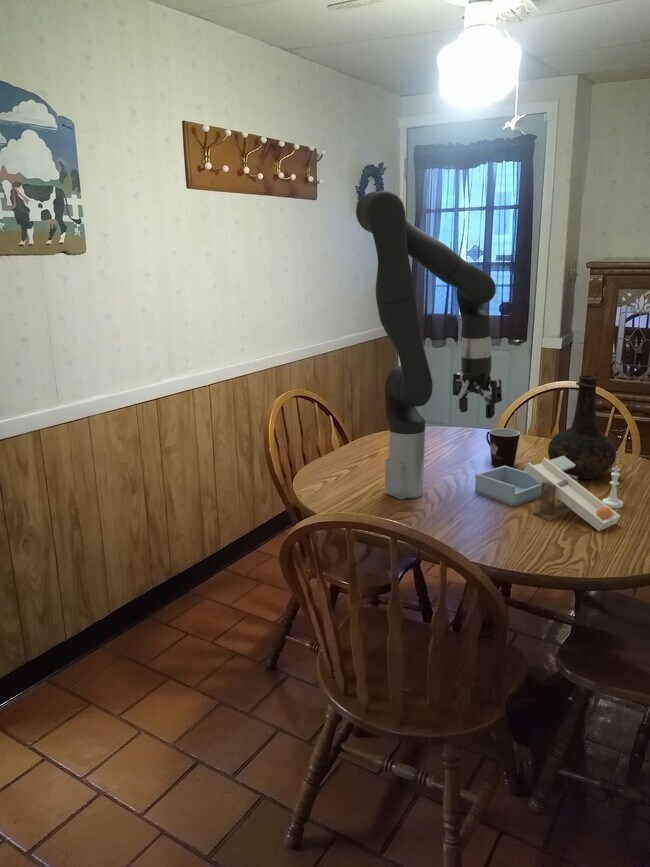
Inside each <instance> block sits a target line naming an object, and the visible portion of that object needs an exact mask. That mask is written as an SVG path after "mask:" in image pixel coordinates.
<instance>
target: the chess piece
mask: <svg viewBox="0 0 650 867" xmlns="http://www.w3.org/2000/svg"><path fill="white" fill-rule="evenodd" d="M611 470H612V471H614V472H611V473H610V476H611V481H609V484H610V485H611V489H610V492H609V493H610V494H609V496H607V497H606V498H603V499H602V500H601V501H602V502H603V503H604V504H606V505H607V506H608V507H610V508H611V509H612V508H613V509H619V508H620V509H621V508H623V507H624V502H623V501H622V500H620V499H619V498H618V496H617V486H619V485H620V482H619V481H618V480H619V478H620V476H621V474H620V473H619V472H620V471H621V468H618V465H615V466H614V467H611Z"/></svg>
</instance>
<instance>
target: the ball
mask: <svg viewBox="0 0 650 867" xmlns="http://www.w3.org/2000/svg"><path fill="white" fill-rule="evenodd" d="M596 514H597V516H598V517H599V518H600V519H601V520H606V519H608V518H610V517H611V515H612V513H611V510H610V509H609V508H608V507H606V506H601V507H599V508H598V509H597V512H596Z"/></svg>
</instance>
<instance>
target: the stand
mask: <svg viewBox="0 0 650 867" xmlns="http://www.w3.org/2000/svg"><path fill="white" fill-rule="evenodd" d="M567 475H568V476H570V477H571V478H572V479H573V480H575V481H576V482H577V483H579V479H578V477H577V476H574V475H570V474H567ZM555 488H556V485H555V484H551V483H548V482H542V486H541V497H540V500H539V501H540V502H539V508H538V509H536V510H534V511H532V515H534V516H537V517H540V518H543V519H545V520H548V521H553V520H555V519H558V518H560V517H562V516H565V515H567V514H569V513H572V512H574V511H573V510H572V509H571V508H569V507H568V506H567V505H566V504H564V503H563V502H562V501H561V500H560V501H557V502H555V499H556V496H555Z"/></svg>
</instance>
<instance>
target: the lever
mask: <svg viewBox="0 0 650 867" xmlns="http://www.w3.org/2000/svg"><path fill="white" fill-rule="evenodd" d="M574 467H575V464H574V463H573V462H571V461H570V460H569V459H567V458H566V457H565V456H561V457H558V458H555V459H552V460H550V459H547V458H546V457H543V458H542V459H541V462H540V463H537V464H534V465H533V464H532V463H531V462H528V463H527V464H526V466H525V468H524V469H523V471H524V472H526V473H527V474H529V475H530V476H531V477H532V478H534V479H535V480H536V481H537V482H539V483H540V484H541V485H542V482H548V483H551V484H555V485H556V488H555V498H557V499H558V500H560V501H562V502H563V503H564V504H566V505H567V506H568V507H569V508H571V509H572V510H573V511H572V512H574V513H575V514H577V515H578V516H579V517H581V518H582V519H583V520H585V522H587V523H588V524H590V526H592V527H593V528H594V529H595V530H596V531H598V532H601V531H602V530H605V529H608V528H609V527H612V526H613V525H616V524H617V522H618V520H619V519H620V518H621V515H620V514H619V513H618V512H616V511H615V510H614V509H612V508H610V507H608V506H607V505H606V504H604V503H603V502H602V500H601V499H599V498H598V497H597V496H596V495H594V494H593V493H591V491H589V490H588V489H586V488H585V487H584V486H582V485H581V484H580V483H579V482H576V481H575V480H573V479H572V478H571V477H570V476H568V475H567V474H566V473H564V472H563V471H565V470H568V469H571V468H574ZM601 506H606V507H608V508H609V509H610V510H611V513H612V515H611V517H610V518H608V519H606V520H601V519H600V518H599V517H598V516H597V514H596V512H597V509H598V508H599V507H601Z"/></svg>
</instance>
